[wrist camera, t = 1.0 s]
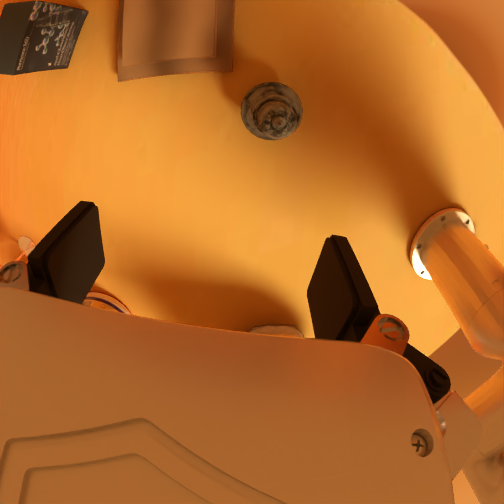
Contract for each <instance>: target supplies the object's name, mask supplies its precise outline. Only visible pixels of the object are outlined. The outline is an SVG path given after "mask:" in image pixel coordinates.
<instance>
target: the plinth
mask: <svg viewBox="0 0 504 504" xmlns="http://www.w3.org/2000/svg"><path fill="white" fill-rule="evenodd" d="M234 12H235V0H120V1H119V16H118V82H119V81H127V80H134V79H140V78H147V77H155V76H163V75H173V74H185V73H200V72H233V41H234Z"/></svg>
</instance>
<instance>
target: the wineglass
mask: <svg viewBox="0 0 504 504" xmlns="http://www.w3.org/2000/svg"><path fill="white" fill-rule="evenodd" d="M18 245H19V248H20V250H21V252H22V254H21V255H20V256H19V257H18V258H17V259H16V260H15V261H19V260H20V259H21V257H22V256H23V255H24V256H25V257H27V256H28V255H29V254H30V252H31V251H32V250H33V249H34V248H35V247H36V246H35V244H34V243H33V242H32V241H31V240H30V239H29V238H28V237H25V236H22V237H20V238H19V240H18ZM27 258H28V257H27ZM1 267H3V266H2V265H0V268H1Z"/></svg>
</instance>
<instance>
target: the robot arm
mask: <svg viewBox="0 0 504 504" xmlns="http://www.w3.org/2000/svg"><path fill="white" fill-rule="evenodd" d="M27 257H28V261H29V262H28V264H27V265H26V264H25V263H24V262H22V261H12V262H9V263H7V264H5V265H4V266H3V267H1V268H0V504H455V503H454V494H453V486H452V480H453V479H454V478H455V477H456V475H457V474H458V473H459V471H460V470H461V469H462V471H463V473H464V474H465V476H466V478H467V480H468V482H469V483H470V485H471V487H472V489H473V491H474V493H475V494H476V496H477V498H478V500H479V502H480V503H481V504H504V267H503V266H502V264H501V263H500V262H499V261H498V260H497V259H496V258H495V256H494V255H493V254H492V253H491V252H490V251H489V250H488V246H487V245H486V244H483V243H482V242H481V241H480V240H479V239H478V238H477V237H476V236H475V229H474V224H473V221H472V219H471V218H470V217H469V215H468V214H466V213H465V212H464V211H462V210H460V209H457V208H447V209H444V210H441V211H439V212H437V213H435V214H434V215H433V216H431V217H430V218H429V219H428V220H427V221H426V222H425V223H424V224H423V225H422V226H421V227H420V229H419V230H418V232H417V234H416V235H415V237H414V239H413V242H412V245H411V249H410V261H411V265H412V267H413V269H414V270H415V272H416V273H417V274H418V275H419V276H420V277H422V278H425V279H432V280H433V282H434V283H435V285H436V286H437V288H438V289H439V291H440V293H441V294H442V296H443V297H444V299H445V301H446V302H447V304H448V306H449V307H450V309H451V311H452V312H453V314H454V316H455V318H456V319H457V321H458V323H459V325H460V326H461V328H462V330H463V332H464V334H465V336H466V337H467V339H468V341H469V343H470V345H471V346H472V348H473V349H474V350H475V351H476V352H477V353H478V354H480V355H482V356H484V357H488V358H493V359H499V360H502V362H503V364H502V366H501V368H500V369H499V370H498V371H497V372H496V373H495V374H494V375H493V376H492V377H491V378H490V379H489V380H487V381H486V382H485V383H484V384H482V385H481V386H480V387H479V388H478V389H476V390H475V391H474V392H472V393H471V394H470V395H469V396H467V397H466V398H465V399H462V398H461V397H460V396H459V395H458V393H457V392H456V391H455V390H454V391H453V392H451V391H450V386H451V383H450V378H449V376H448V374H447V373H446V371H445V370H444V369H443V368H442V367H441V366H439V365H438V364H436V363H435V362H434V361H432V360H431V359H429V358H428V357H427V356H425V355H424V354H422V353H421V352H420V351H418V350H417V349H415V348H414V347H413V346H411V345H410V344H408V340H409V330H408V328H407V327H406V325H405V324H404V323H403V322H402V321H401V320H400V319H399V318H397V317H395V316H393V315H390V314H380V311H379V309H378V305H377V303H376V300H375V298H374V296H373V293H372V291H371V289H370V287H369V284H368V282H367V280H366V278H365V275H364V273H363V271H362V269H361V267H360V265H359V262H358V260H357V258H356V256H355V254H354V252H353V250H352V248H351V246H350V244H349V242H348V240H347V238H346V237H343V236H337V235H332V236H331V237H330V238H328V237H327V238H326V240H325V243H324V245H323V248H322V251H321V254H320V257H319V259H318V262H317V265H316V268H315V270H314V273H313V276H312V278H311V281H310V284H309V286H308V290H307V298H308V303H309V308H310V313H311V318H312V323H313V329H314V334H315V338H301V337H288V336H277V335H266V334H257V333H248V332H239V331H231V330H223V329H216V328H208V327H201V326H195V325H188V324H182V323H175V322H169V321H163V320H158V319H152V318H146V317H141V316H136V315H131V314H126V313H120V312H116V311H111V310H106V309H101V308H97V307H92V306H88V305H84V304H82V303H83V301H84V299H85V298H86V296H87V294H88V292H89V291H90V289H91V287H92V285H93V284H94V282H95V280H96V279H97V277H98V275H99V274H100V272H101V270H102V269H103V267H104V264H105V257H104V251H103V244H102V237H101V230H100V221H99V212H98V207H97V206H95V204H94V203H93V202H87V201H80V202H79V203H78V204H77V205H76V206H75V207H74V208H73V209H72V210H70V211H69V212H68V213H67V214H66V215H65V216H64V217H63V218H62V219H61V220H60V221H59V222H58V223H57V224H56V225H55V226H54V227H53V229H52V230H51V231H50V232H49V233H48V234H47V235H46V236H45V237H44V238H43V239H42V240H41V241H40V242H39V243H38V245H37V246H36V247H35V248H34V249H33V250H32V251H31V252H30V254H29V255H28V256H27Z"/></svg>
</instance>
